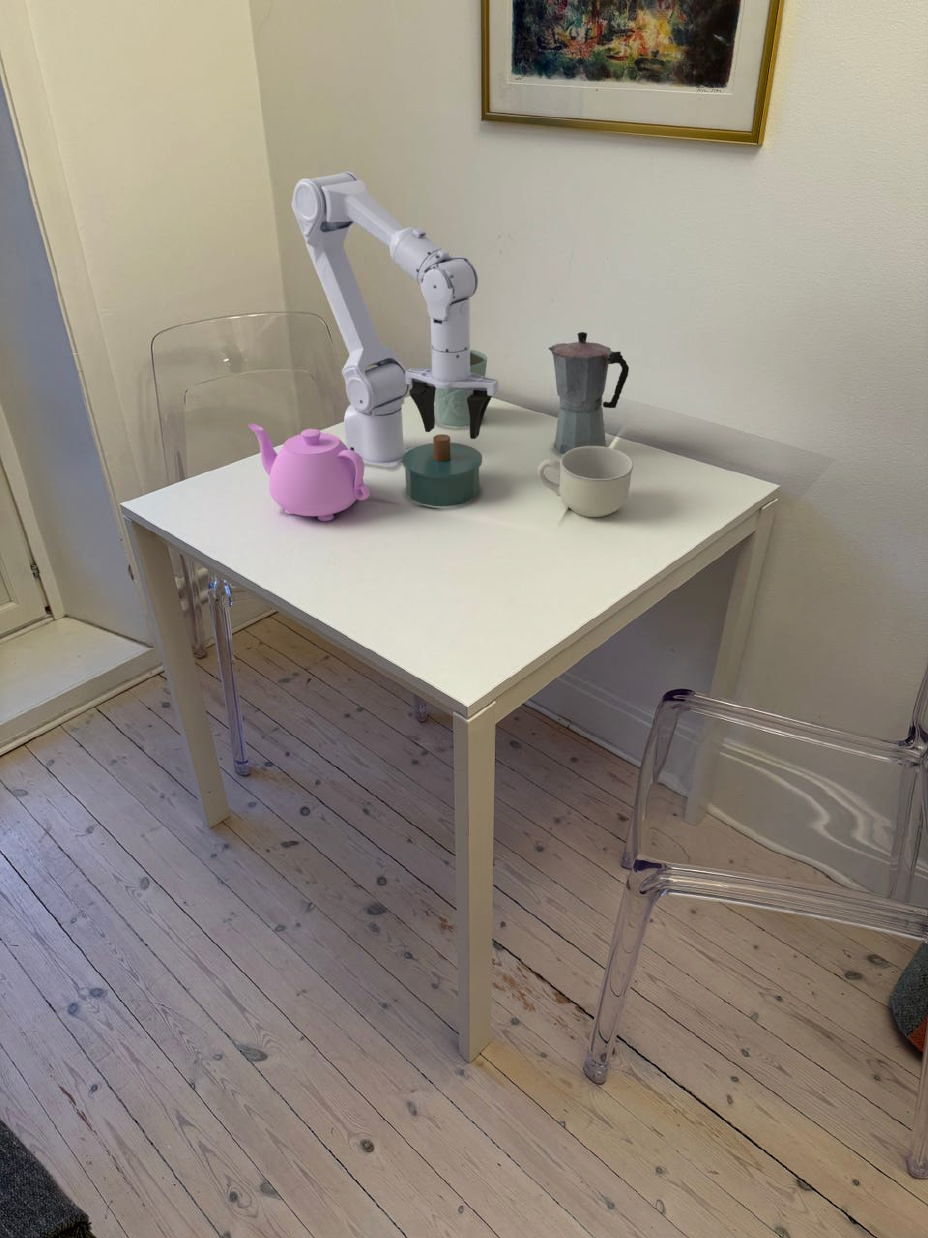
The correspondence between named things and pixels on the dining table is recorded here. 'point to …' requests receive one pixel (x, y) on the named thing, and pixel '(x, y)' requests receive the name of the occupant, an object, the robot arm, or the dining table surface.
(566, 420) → the moka pot
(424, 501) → the pot
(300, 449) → the teapot
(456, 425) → the green embossed cup
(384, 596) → the dining table surface
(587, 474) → the teacup
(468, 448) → the lid
